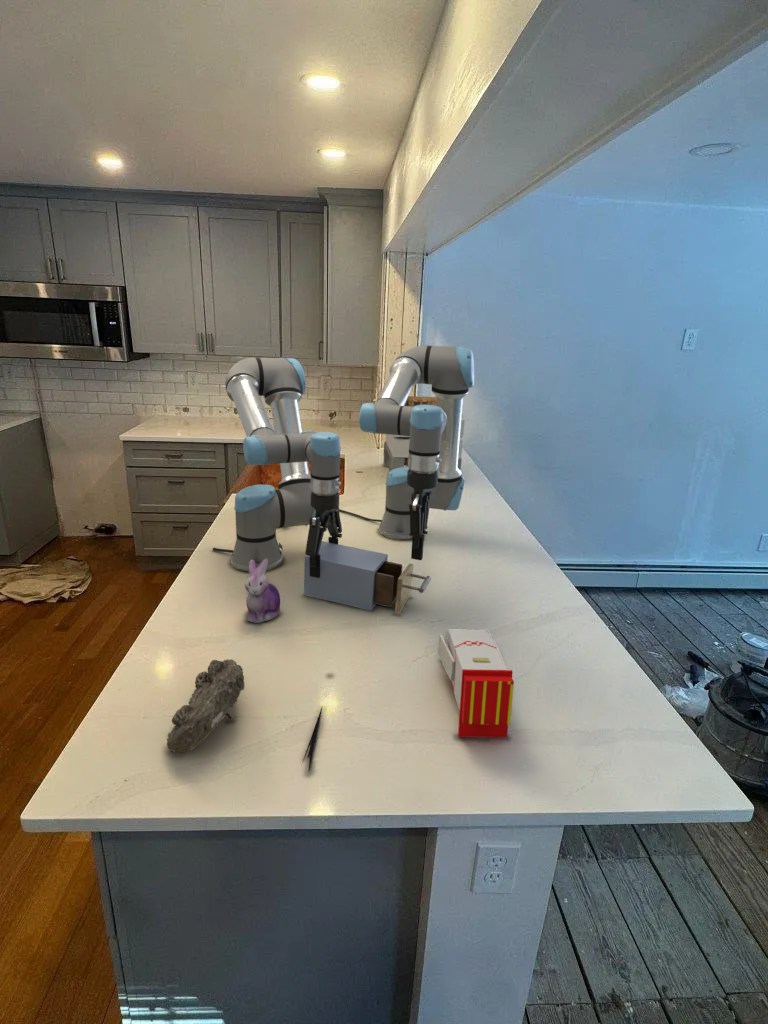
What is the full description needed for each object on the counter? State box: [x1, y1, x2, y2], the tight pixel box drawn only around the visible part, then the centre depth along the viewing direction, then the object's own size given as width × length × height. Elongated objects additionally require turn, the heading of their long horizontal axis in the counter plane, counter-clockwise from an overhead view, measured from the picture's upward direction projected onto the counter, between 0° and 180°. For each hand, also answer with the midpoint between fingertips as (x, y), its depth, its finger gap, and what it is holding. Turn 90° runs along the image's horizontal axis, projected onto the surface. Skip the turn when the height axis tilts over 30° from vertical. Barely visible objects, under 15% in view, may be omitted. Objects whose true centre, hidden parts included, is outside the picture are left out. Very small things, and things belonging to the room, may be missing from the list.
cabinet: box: [303, 540, 389, 611], centre depth 154 cm, size 20×11×12 cm, turn 71°
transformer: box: [383, 395, 465, 472], centre depth 268 cm, size 34×33×41 cm
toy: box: [437, 628, 515, 738], centre depth 117 cm, size 12×13×30 cm
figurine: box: [244, 559, 282, 624], centre depth 141 cm, size 9×10×15 cm
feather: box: [301, 673, 332, 771], centre depth 108 cm, size 2×28×2 cm
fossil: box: [166, 658, 245, 754], centre depth 106 cm, size 22×10×15 cm
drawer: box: [373, 561, 432, 613], centre depth 151 cm, size 24×10×10 cm, turn 71°
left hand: (324, 567), depth 156 cm, fingers closed on cabinet, 11 cm apart
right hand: (416, 558), depth 146 cm, fingers closed
